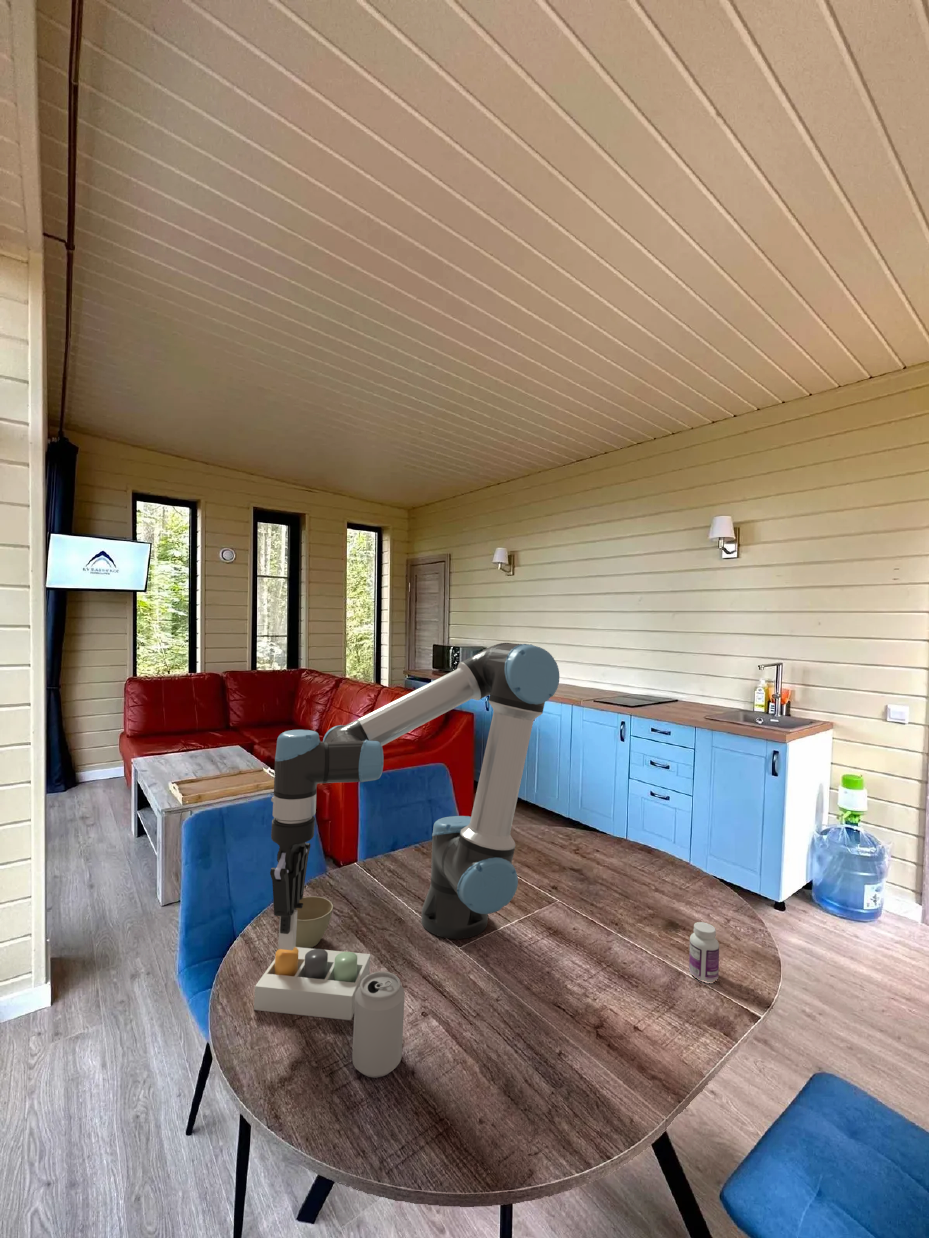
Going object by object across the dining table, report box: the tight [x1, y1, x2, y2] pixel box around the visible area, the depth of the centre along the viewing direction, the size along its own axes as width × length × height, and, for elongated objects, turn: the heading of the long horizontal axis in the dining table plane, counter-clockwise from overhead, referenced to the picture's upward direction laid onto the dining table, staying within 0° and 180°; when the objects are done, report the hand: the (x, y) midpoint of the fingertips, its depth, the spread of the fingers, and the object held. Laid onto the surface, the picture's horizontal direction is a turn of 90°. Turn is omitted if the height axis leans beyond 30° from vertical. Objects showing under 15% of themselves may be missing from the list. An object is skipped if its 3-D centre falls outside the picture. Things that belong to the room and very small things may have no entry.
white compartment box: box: [253, 946, 371, 1021], centre depth 99 cm, size 17×12×4 cm
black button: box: [304, 948, 328, 980], centre depth 99 cm, size 4×4×4 cm
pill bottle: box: [688, 921, 720, 982], centre depth 108 cm, size 5×5×10 cm
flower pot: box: [295, 895, 334, 949], centre depth 114 cm, size 10×10×7 cm
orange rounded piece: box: [274, 946, 299, 976], centre depth 99 cm, size 4×4×4 cm
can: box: [351, 971, 406, 1079], centre depth 83 cm, size 8×8×12 cm
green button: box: [334, 951, 357, 983], centre depth 98 cm, size 4×4×4 cm
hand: (286, 946), depth 99 cm, fingers closed
